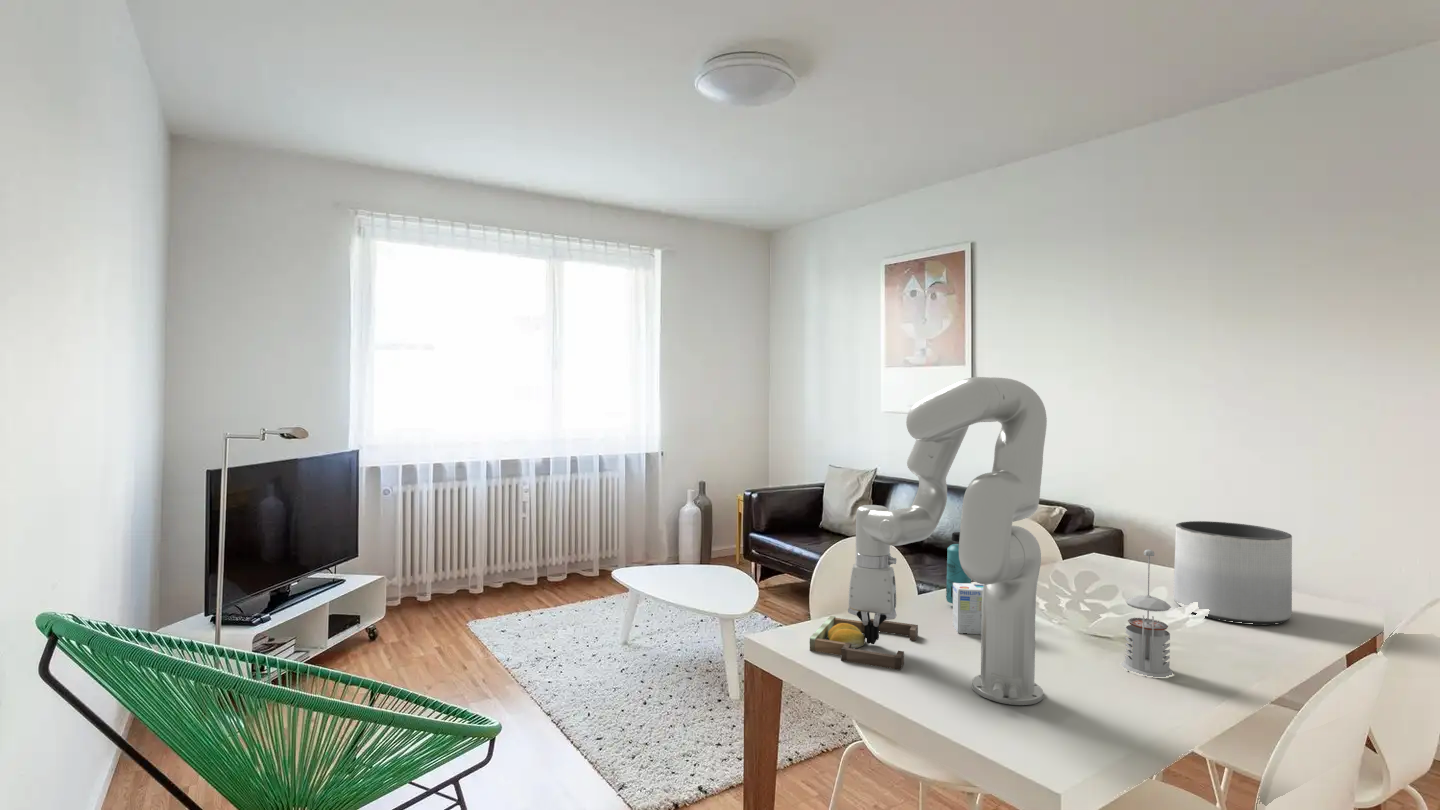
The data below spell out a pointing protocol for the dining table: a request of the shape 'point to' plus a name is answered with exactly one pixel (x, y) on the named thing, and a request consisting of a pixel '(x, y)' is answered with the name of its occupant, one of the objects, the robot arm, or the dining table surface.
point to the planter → (1234, 571)
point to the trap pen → (862, 656)
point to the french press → (1147, 636)
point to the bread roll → (847, 635)
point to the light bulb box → (967, 607)
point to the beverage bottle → (954, 568)
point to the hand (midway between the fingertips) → (871, 642)
